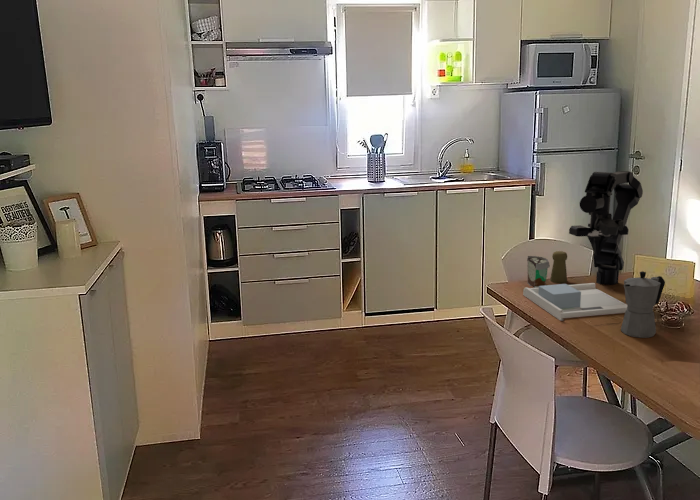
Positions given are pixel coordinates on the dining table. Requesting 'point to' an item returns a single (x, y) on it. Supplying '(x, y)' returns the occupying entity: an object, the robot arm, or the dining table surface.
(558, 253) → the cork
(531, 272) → the food container
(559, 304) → the slate block
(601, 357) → the dining table surface
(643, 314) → the coffeepot
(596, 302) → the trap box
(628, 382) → the dining table surface
